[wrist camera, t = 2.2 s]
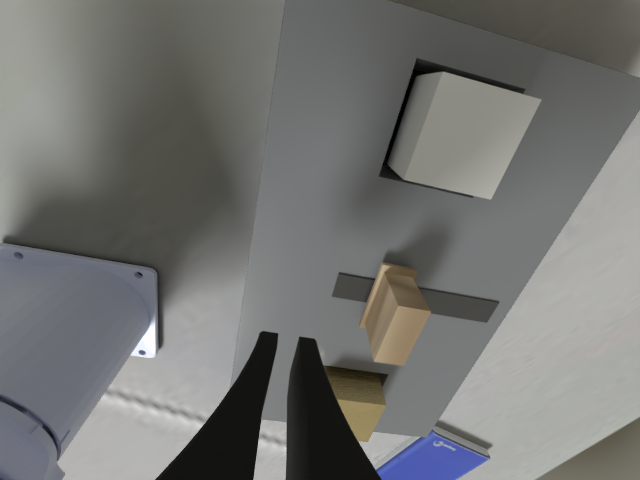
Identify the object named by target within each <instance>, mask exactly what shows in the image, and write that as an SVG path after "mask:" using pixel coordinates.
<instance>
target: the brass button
mask: <svg viewBox="0 0 640 480" xmlns="http://www.w3.org/2000/svg"><path fill="white" fill-rule="evenodd" d="M324 368H325V371H326V374H327V377H328V379H329V382H330V384H331V387H332V389H333V392H334V394H335V396H336V399H337V401H338V403H339V405H340V407H341V409H342V412H343V414H344V416H345V418H346V420H347V422H348V424H349V426H350V428H351V430H352V431H353V433H354V435H355V437H356V439H357V440H358V441H363V442H368V441H369V439H370V437H371V435H372V433H373V431H374V429H375V427H376V425H377V423H378V421H379V419H380V417H381V415H382V413H383V411H384V409H385V407H386V402H385V398H384V394H383V390H382V386H381V382H380V378H379V373H376V372H369V371H362V370H354V369H347V368H340V367H333V366H325V365H324Z"/></svg>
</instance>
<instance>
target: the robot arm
mask: <svg viewBox="0 0 640 480" xmlns="http://www.w3.org/2000/svg"><path fill="white" fill-rule="evenodd" d="M20 253H21V254H20ZM138 272H140V273H141V274H142V275H140V274H138ZM277 344H278V333H273V332H267V331H262V332H260V333H259V337H258V340H257V342H256V345H255V347H254V349H253V351H252V353H251V355H250V357H249V359H248V361H247V362H246V364H245V366H244V368H243V369H242V371H241V373H240V375H239V376H238V378H237V379H236V381H235V382H234V384H233V385H232V387H231V388H230V390H229V391H228V393H227V394H226V396H225V397H224V399H223V400H222V402H221V403H220V404H219V406H218V407H217V408H216V410H215V411H214V412H213V414H212V415H211V416H210V418H209V419H208V420H207V422H206V423H205V424H204V425H203V426H202V428H201V429H200V430H199V431H198V433H197V434H196V435H195V436H194V437H193V439H192V440H191V441H190V442H189V443H188V444H187V446H186V447H185V448H184V449H183V450H182V451H181V452H180V454H179V455H178V456H177V457H176V458H175V459H174V460H173V461H172V462H171V463H170V464H169V465H168V467H167V468H166V469H165V470H164V471H163V472H162V473H161V474H160V475H159V476H158V477H157V478H156V479H155V480H253V477H254V469H255V461H256V454H257V446H258V439H259V431H260V424H261V417H262V411H263V407H264V403H265V399H266V395H267V390H268V386H269V382H270V377H271V373H272V368H273V364H274V360H275V355H276V351H277ZM143 350H144V351H143ZM157 353H158V292H157V272H156V271H155V270H154V269H152V268H149V267H144V266H138V265H132V264H126V263H120V262H114V261H108V260H102V259H96V258H90V257H84V256H78V255H72V254H66V253H60V252H54V251H48V250H43V249H37V248H31V247H25V246H19V245H13V244H7V243H0V480H62V479H63V477H64V476H65V472H63V471H62V470H61V469H60V467H59V466H58V464H57V461H58V460H59V459H60V457H61V456H62V454H63V453H64V451H65V450H66V448H67V447H68V445H69V444H70V442H71V441H72V440H73V438H74V437H75V435H76V434H77V432H78V431H79V429H80V428H81V426H82V425H83V423H84V422H85V421H86V419H87V418H88V416H89V415H90V413H91V412H92V410H93V409H94V407H95V406H96V404H97V403H98V402H99V400H100V399H101V397H102V396H103V394H104V393H105V391H106V390H107V388H108V387H109V385H110V384H111V383H112V381H113V380H114V378H115V377H116V375H117V374H118V372H119V371H120V369H121V368H122V367H123V365H124V364H125V362H126V361H127V359H128V358H129V356H130V355H132V356H140V357H147V358H153V357H155V356H156V355H157ZM286 480H382V479H381V477H380V476H379V474H378V473H377V471H376V470H375V468H374V467H373V465H372V464H371V462H370V461H369V459H368V458H367V456H366V454H365V452H364V451H363V449H362V447H361V446H360V444H359V442H358V440H357V439H356V437H355V435H354V433H353V431H352V430H351V428H350V426H349V424H348V422H347V420H346V418H345V416H344V414H343V412H342V409H341V407H340V405H339V403H338V401H337V399H336V396H335V394H334V392H333V389H332V387H331V384H330V382H329V379H328V377H327V374H326V371H325V368H324V365H323V362H322V359H321V356H320V353H319V349H318V346H317V341H316V340H315V339H314V338H307V337H300V336H299V340H298V343H297V347H296V351H295V355H294V358H293V362H292V366H291V370H290V376H289V385H288V394H287V463H286Z"/></svg>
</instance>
